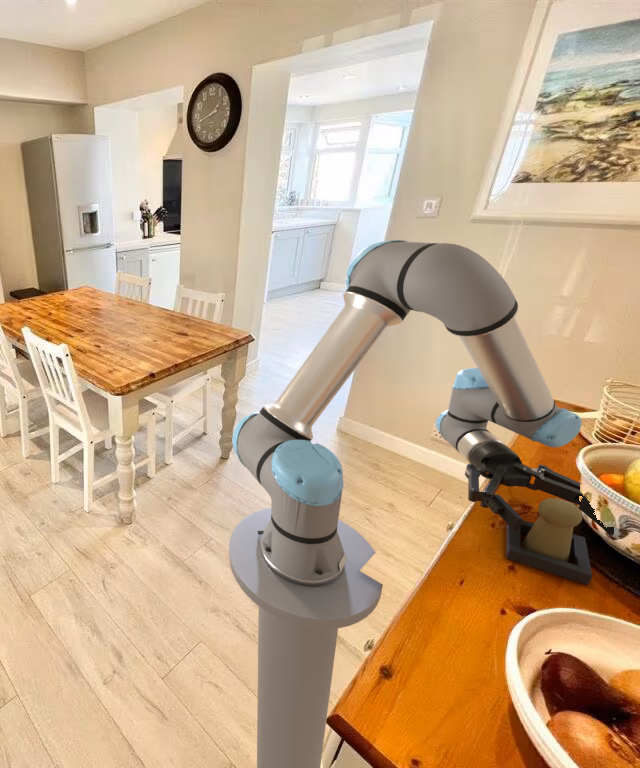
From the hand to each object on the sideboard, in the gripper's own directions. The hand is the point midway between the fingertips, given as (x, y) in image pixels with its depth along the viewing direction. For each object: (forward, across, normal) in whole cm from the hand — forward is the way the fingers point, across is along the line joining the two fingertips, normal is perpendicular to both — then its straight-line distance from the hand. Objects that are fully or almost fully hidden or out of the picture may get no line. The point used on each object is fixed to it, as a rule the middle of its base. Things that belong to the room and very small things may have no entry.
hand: (566, 527), depth 68 cm
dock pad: (-2, 0, -8) cm, 8 cm away
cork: (-2, 0, -8) cm, 8 cm away
